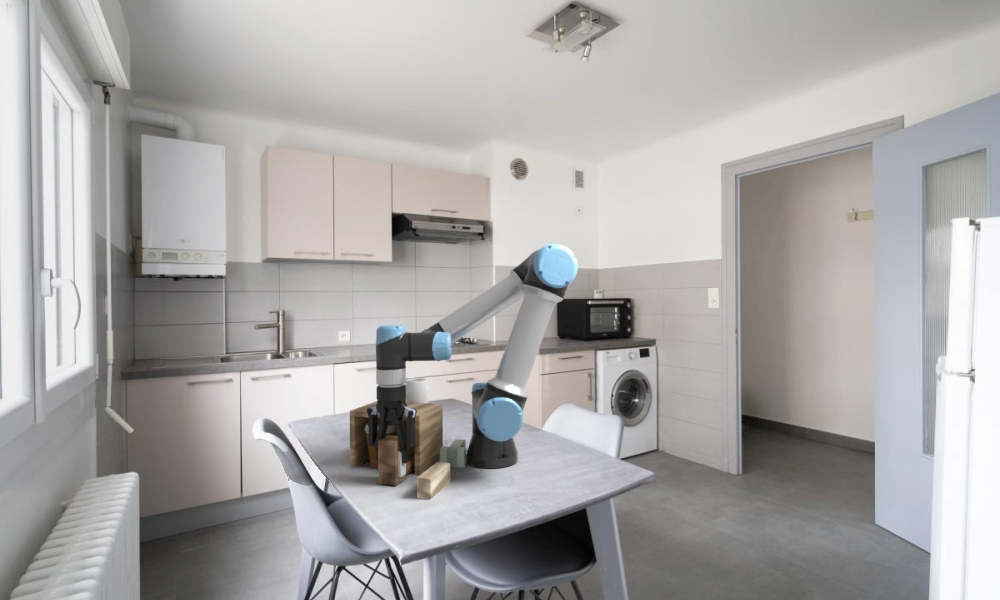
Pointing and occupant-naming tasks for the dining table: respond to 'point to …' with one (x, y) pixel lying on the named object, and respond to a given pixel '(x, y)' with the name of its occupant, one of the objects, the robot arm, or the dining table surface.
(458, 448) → the tee stick
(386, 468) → the crook
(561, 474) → the dining table surface
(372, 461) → the disposable coffee cup
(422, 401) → the wineglass
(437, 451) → the wooden storage bin
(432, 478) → the beech stick
